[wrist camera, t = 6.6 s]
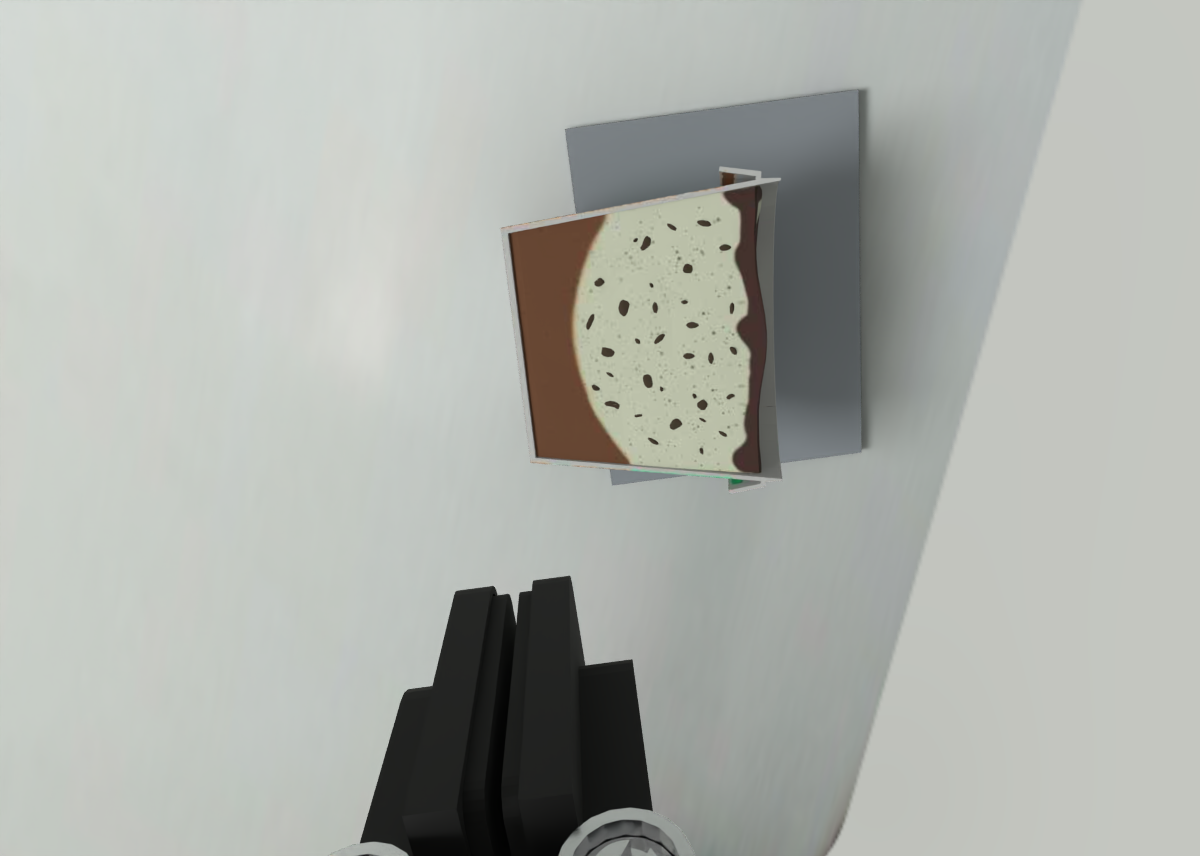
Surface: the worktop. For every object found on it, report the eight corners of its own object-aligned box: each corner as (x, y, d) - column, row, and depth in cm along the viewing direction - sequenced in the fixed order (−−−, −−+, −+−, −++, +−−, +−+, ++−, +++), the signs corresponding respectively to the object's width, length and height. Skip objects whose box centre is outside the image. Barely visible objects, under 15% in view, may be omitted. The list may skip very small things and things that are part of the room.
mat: (565, 129, 31) (565, 129, 31) (854, 90, 31) (858, 89, 31) (611, 482, 37) (612, 485, 37) (858, 449, 37) (861, 452, 37)
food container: (564, 441, 37) (773, 436, 36) (534, 496, 32) (782, 493, 30) (535, 176, 33) (771, 156, 31) (495, 185, 27) (781, 161, 26)
